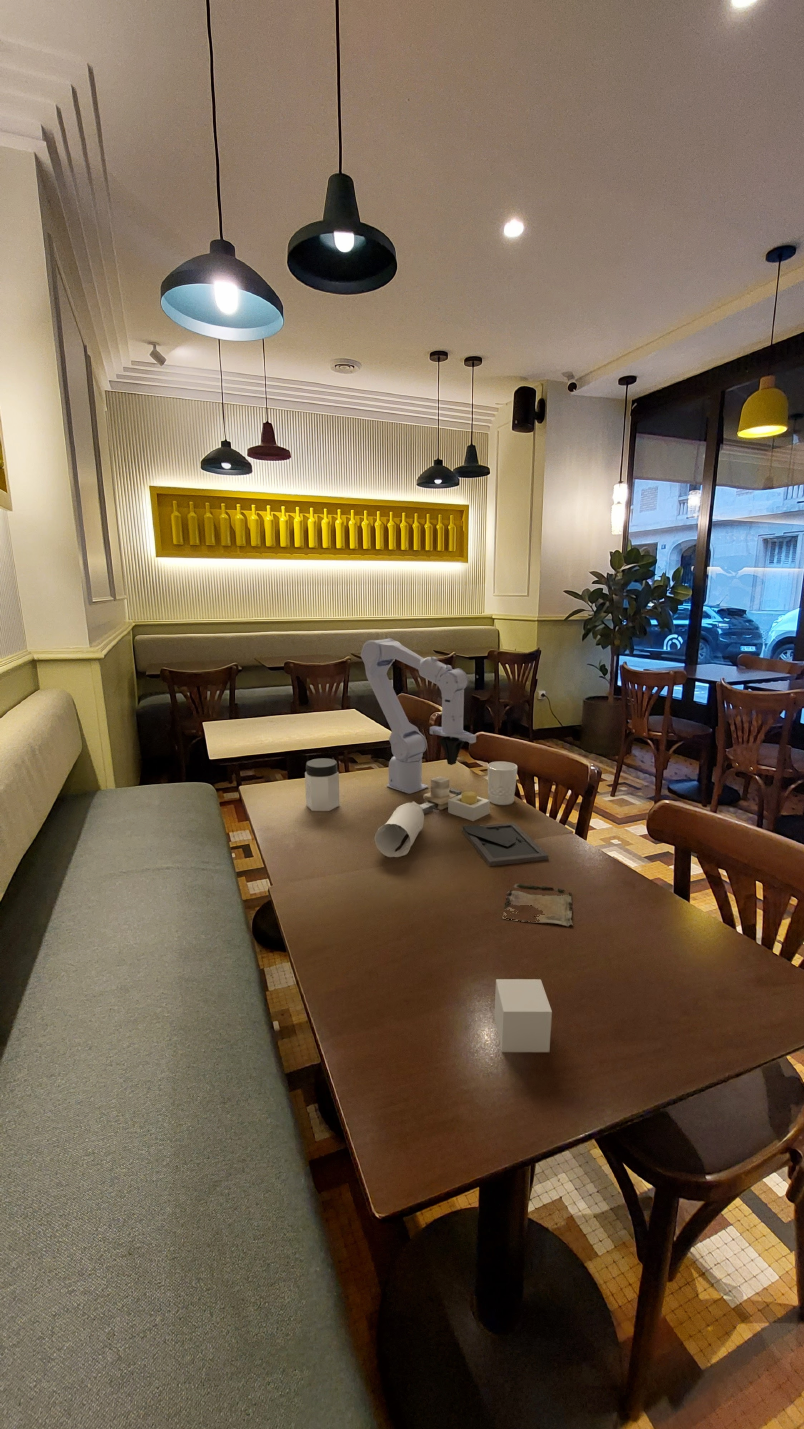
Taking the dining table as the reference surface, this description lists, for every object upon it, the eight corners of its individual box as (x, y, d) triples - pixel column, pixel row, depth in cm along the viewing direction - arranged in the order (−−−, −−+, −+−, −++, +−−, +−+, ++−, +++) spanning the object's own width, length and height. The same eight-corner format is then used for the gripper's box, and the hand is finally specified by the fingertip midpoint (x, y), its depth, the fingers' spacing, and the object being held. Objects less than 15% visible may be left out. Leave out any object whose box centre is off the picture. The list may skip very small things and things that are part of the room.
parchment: (572, 893, 110) (572, 888, 110) (573, 931, 98) (574, 926, 98) (506, 884, 114) (507, 880, 113) (500, 921, 101) (500, 915, 101)
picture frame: (462, 833, 138) (489, 868, 120) (462, 825, 137) (489, 859, 120) (514, 828, 140) (548, 862, 123) (514, 820, 140) (548, 853, 123)
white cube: (501, 1052, 72) (503, 1011, 71) (494, 1018, 78) (495, 979, 77) (549, 1052, 72) (552, 1011, 71) (538, 1017, 78) (540, 979, 77)
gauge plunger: (457, 809, 148) (458, 794, 147) (467, 804, 151) (467, 790, 150) (470, 813, 145) (470, 798, 145) (479, 808, 148) (480, 794, 147)
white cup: (480, 798, 159) (482, 763, 157) (504, 794, 162) (506, 759, 160) (497, 808, 152) (498, 771, 150) (521, 803, 155) (523, 767, 153)
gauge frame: (448, 812, 149) (448, 799, 148) (464, 805, 154) (465, 792, 153) (473, 821, 143) (473, 807, 143) (489, 813, 148) (490, 800, 147)
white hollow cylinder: (431, 826, 140) (431, 796, 139) (409, 861, 123) (410, 826, 121) (400, 823, 143) (400, 792, 141) (374, 856, 125) (374, 821, 123)
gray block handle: (400, 816, 146) (400, 807, 145) (451, 796, 160) (451, 788, 159) (411, 820, 144) (411, 811, 143) (461, 799, 158) (461, 791, 157)
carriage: (423, 803, 154) (423, 779, 152) (437, 798, 158) (438, 774, 157) (441, 810, 150) (442, 784, 148) (456, 803, 154) (456, 779, 152)
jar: (302, 803, 155) (300, 760, 153) (331, 797, 159) (329, 756, 156) (313, 814, 148) (312, 769, 145) (343, 808, 151) (342, 765, 149)
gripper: (422, 713, 156) (422, 761, 159) (464, 721, 146) (463, 772, 149) (439, 709, 161) (438, 756, 164) (481, 717, 151) (480, 766, 154)
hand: (451, 763), depth 157 cm, fingers closed
